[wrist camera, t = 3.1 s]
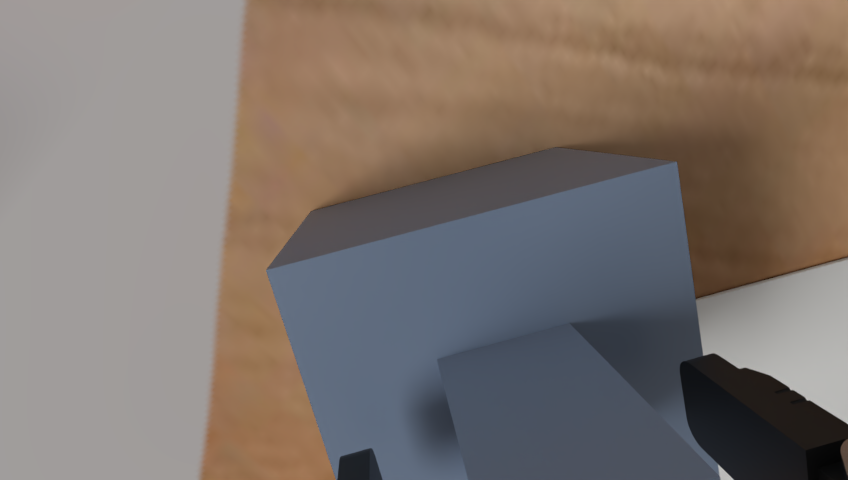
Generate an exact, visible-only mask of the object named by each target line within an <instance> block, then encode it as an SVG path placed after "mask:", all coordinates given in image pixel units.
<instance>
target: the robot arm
mask: <svg viewBox="0 0 848 480" xmlns="http://www.w3.org/2000/svg"><path fill="white" fill-rule="evenodd" d="M680 377H681V384H682V391H683V397H684V404H685V411H686V417H687V422H688V426H689V428H690V431H691V433H692V435H693V437H694V439H695V440H696V442H697V443H698V444H699V446H700V447H701V448H702V449H703V450H704V451H705V452H706V453H707V454H708V455H709V456H710V457H711V458H712V459H713V460H714V461H715V462H716V463H717V464H718V465H719V466H720V467H721V468H722V469H723V470H724V471H725V472H727V473H728V474H729V475H730V476H731V477H732V478H733V479H734V480H848V424H847V423H845V422H844V421H842V420H841V419H839V418H837V417H836V416H834V415H833V414H831V413H829V412H828V411H826V410H825V409H823V408H821V407H820V406H818V405H817V404H815V403H813V402H812V401H810V400H808V401H807V400H806V398H805V397H804V396H802V395H801V394H799V393H797V392H796V391H794V390H790V388H789V387H788V386H786V385H785V384H783V383H781V382H780V381H778V380H777V379H775V378H773V377H772V376H770V375H767V374H764V373H761V372H758V371H755V370H752V369H748V368H741V369H739V368H737V367H736V366H734V365H733V364H731V363H730V362H728V361H727V360H725V359H724V358H722V357H720V356H719V355H717V354H715V353H712V354H708V355H704V356H701V357H697V358H694V359H690V360H687V361H683V362H682V363H681V364H680ZM337 480H383V479H382V476H381V473H380V470H379V466H378V463H377V460H376V457H375V454H374V451H373V449H372V448H369V449H365V450H362V451H358V452H355V453H351V454H347V455H344V456H341V457H340V460H339V468H338V478H337Z"/></svg>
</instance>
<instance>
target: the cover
mask: <svg viewBox="0 0 848 480" xmlns="http://www.w3.org/2000/svg"><path fill="white" fill-rule="evenodd" d="M266 272H267V275H268V278H269V281H270V284H271V287H272V290H273V293H274V296H275V299H276V302H277V305H278V308H279V311H280V314H281V317H282V320H283V323H284V326H285V329H286V332H287V335H288V337H289V340H290V343H291V346H292V349H293V352H294V355H295V358H296V361H297V364H298V367H299V370H300V373H301V376H302V379H303V382H304V385H305V388H306V391H307V394H308V397H309V400H310V403H311V406H312V409H313V412H314V415H315V418H316V421H317V424H318V427H319V430H320V433H321V436H322V439H323V442H324V445H325V448H326V451H327V454H328V457H329V460H330V463H331V466H332V469H333V472H334V475H335V478H336V480H337V478H338V468H339V460H340V457H341V456H344V455H347V454H351V453H355V452H358V451H362V450H365V449H369V448H372V449H373V451H374V454H375V457H376V460H377V463H378V466H379V470H380V473H381V476H382V479H383V480H720V476H719V468H718V464H717V463H716V462H715V461H714V460H713V459H712V458H711V457H710V456H709V455H708V454H707V453H706V452H705V451H704V450H703V449H702V448H701V447H700V446H699V444H698V443H697V442H696V440H695V439H694V437H693V435H692V433H691V431H690V428H689V426H688V422H687V417H686V411H685V404H684V397H683V391H682V384H681V377H680V364H681V363H682V362H683V361H687V360H690V359H694V358H697V357H701V356H703V350H702V343H701V335H700V328H699V321H698V313H697V306H696V298H695V291H694V284H693V276H692V269H691V262H690V254H689V247H688V239H687V232H686V225H685V217H684V210H683V202H682V195H681V188H680V180H679V173H678V166H677V162H676V161H668V160H659V159H651V158H642V157H634V156H625V155H617V154H609V153H600V152H592V151H583V150H575V149H566V148H558V147H555V148H551V149H547V150H543V151H539V152H536V153H532V154H528V155H524V156H520V157H516V158H513V159H509V160H505V161H501V162H497V163H493V164H490V165H486V166H482V167H478V168H474V169H470V170H467V171H463V172H459V173H455V174H451V175H448V176H444V177H440V178H436V179H432V180H428V181H425V182H421V183H417V184H413V185H409V186H405V187H402V188H398V189H394V190H390V191H386V192H382V193H379V194H375V195H371V196H367V197H363V198H359V199H356V200H352V201H348V202H344V203H340V204H337V205H333V206H329V207H325V208H321V209H317V210H314V211H311V212H310V213H309V214H308V216H307V217H306V218H305V220H304V221H303V222H302V224H301V225H300V226H299V228H298V229H297V230H296V232H295V233H294V234H293V235H292V237H291V238H290V239H289V241H288V242H287V243H286V245H285V246H284V247H283V249H282V250H281V251H280V253H279V254H278V255H277V256H276V258H275V259H274V260H273V262H272V263H271V264H270V266H269V267H268V268H267V270H266Z"/></svg>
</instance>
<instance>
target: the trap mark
mask: <svg viewBox="0 0 848 480" xmlns="http://www.w3.org/2000/svg"><path fill="white" fill-rule="evenodd" d="M696 306H697V313H698V321H699V328H700V335H701V343H702V350H703V356H704V355H708V354H712V353H715V354H717V355H719V356H720V357H722V358H724V359H725V360H727V361H728V362H730V363H731V364H733V365H734V366H736V367H737V368H739V369H741V368H748V369H752V370H755V371H758V372H761V373H764V374H767V375H770V376H772V377H773V378H775V379H777V380H778V381H780V382H781V383H783V384H785V385H786V386H788V387H789V388H790V390H794V391H796V392H797V393H799V394H801V395H802V396H804V397H805V398H806V400H807V401H808V400H810V401H812V402H813V403H815V404H817V405H818V406H820V407H821V408H823V409H825V410H826V411H828V412H829V413H831V414H833V415H834V416H836V417H837V418H839V419H841V420H842V421H844V422H845V423H847V424H848V257H847V258H843V259H840V260H836V261H832V262H829V263H825V264H821V265H818V266H814V267H810V268H807V269H803V270H799V271H796V272H792V273H788V274H785V275H781V276H778V277H774V278H770V279H767V280H763V281H759V282H756V283H752V284H748V285H745V286H741V287H737V288H734V289H730V290H726V291H723V292H719V293H715V294H712V295H708V296H704V297H701V298H697V299H696ZM718 468H719V476H720V480H734V479H733V478H732V477H731V476H730V475H729V474H728V473H727V472H725V471H724V470H723V469H722V468H721V467H720V466H719V465H718Z"/></svg>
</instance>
